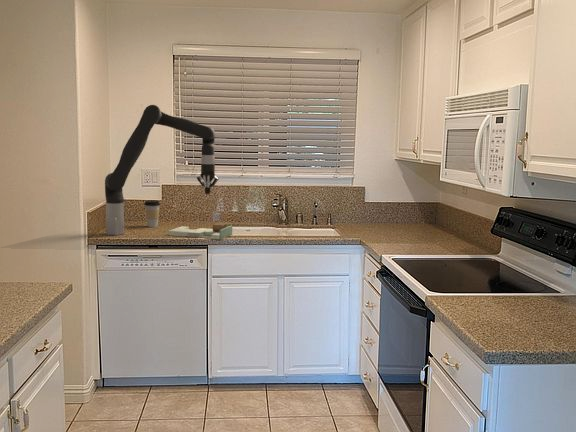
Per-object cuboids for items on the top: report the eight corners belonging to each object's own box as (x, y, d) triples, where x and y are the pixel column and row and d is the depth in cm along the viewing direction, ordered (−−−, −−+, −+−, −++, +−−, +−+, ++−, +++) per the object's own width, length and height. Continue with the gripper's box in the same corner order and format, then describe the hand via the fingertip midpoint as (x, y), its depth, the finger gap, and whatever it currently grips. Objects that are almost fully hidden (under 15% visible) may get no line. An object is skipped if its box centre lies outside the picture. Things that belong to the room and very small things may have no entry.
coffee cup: (161, 227, 348) (161, 202, 346) (145, 228, 345) (145, 202, 342) (159, 224, 357) (158, 200, 355) (143, 225, 353) (142, 200, 351)
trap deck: (221, 239, 315) (221, 230, 315) (168, 235, 324) (168, 226, 323) (232, 234, 331) (232, 225, 330) (181, 230, 339) (181, 222, 338)
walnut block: (222, 232, 324) (223, 225, 323) (212, 231, 326) (212, 224, 325) (227, 230, 330) (227, 223, 329) (217, 230, 331) (217, 223, 331)
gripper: (194, 163, 327) (194, 194, 330) (216, 163, 324) (216, 195, 326) (199, 162, 334) (199, 192, 337) (221, 163, 331) (221, 194, 333)
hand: (207, 194), depth 331 cm, fingers closed
